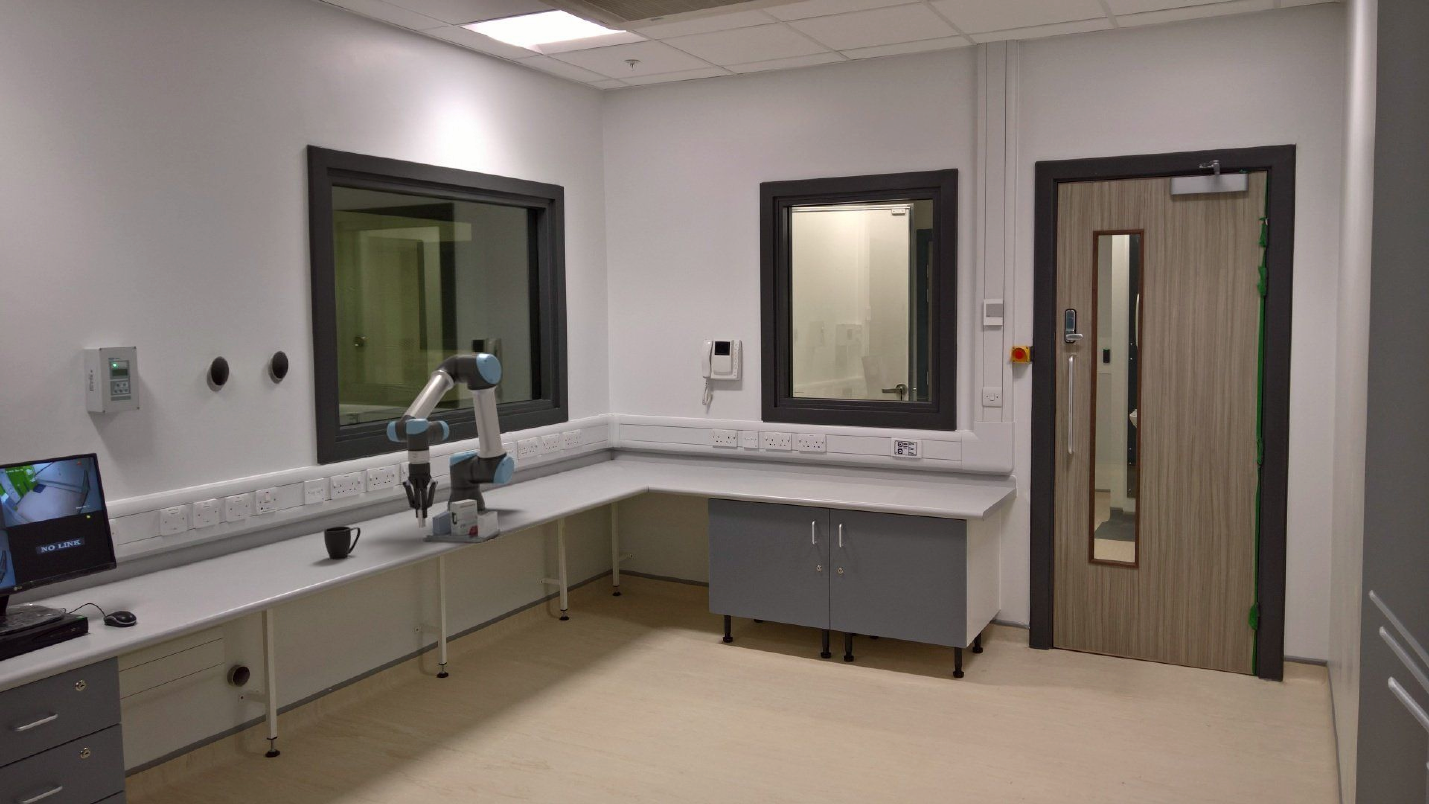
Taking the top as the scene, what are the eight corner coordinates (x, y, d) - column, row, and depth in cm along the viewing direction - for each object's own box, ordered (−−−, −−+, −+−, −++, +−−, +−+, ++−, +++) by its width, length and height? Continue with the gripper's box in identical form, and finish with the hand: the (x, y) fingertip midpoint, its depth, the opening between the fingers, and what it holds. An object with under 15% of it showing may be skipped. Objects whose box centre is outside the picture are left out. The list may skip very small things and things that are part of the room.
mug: (367, 554, 334) (365, 526, 333) (332, 561, 325) (330, 532, 325) (355, 551, 340) (354, 523, 339) (321, 557, 331) (319, 529, 330)
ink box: (470, 530, 363) (469, 498, 362) (478, 532, 360) (477, 499, 359) (450, 535, 356) (449, 502, 355) (459, 536, 353) (457, 503, 352)
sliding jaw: (447, 529, 365) (446, 510, 365) (454, 529, 365) (453, 511, 364) (433, 536, 354) (432, 517, 353) (439, 536, 353) (439, 517, 353)
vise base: (443, 531, 368) (442, 509, 367) (500, 532, 364) (499, 510, 364) (423, 541, 352) (422, 518, 352) (482, 542, 349) (481, 519, 348)
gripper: (397, 463, 356) (400, 529, 358) (431, 463, 354) (434, 529, 356) (407, 460, 363) (410, 524, 365) (440, 460, 361) (443, 525, 363)
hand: (422, 527), depth 361 cm, fingers closed
